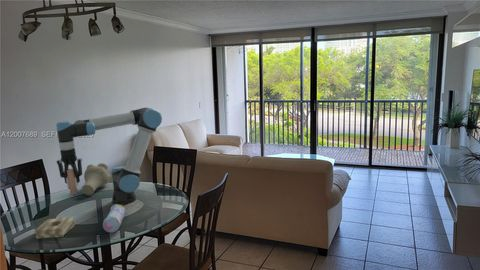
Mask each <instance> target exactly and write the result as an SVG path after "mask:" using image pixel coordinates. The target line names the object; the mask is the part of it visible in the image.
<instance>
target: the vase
mask: <svg viewBox="0 0 480 270" xmlns="http://www.w3.org/2000/svg"><path fill="white" fill-rule="evenodd" d="M108 170H109V166H108V165H107V164H105V163H98V164H97V165H94V164H88V165H87V166H86V169H85V171H84V174H83V178H84V181H85V182H84V185H82V187H81V192H82V193H83V194H84V195H85V196H92V195H94V193H95V191H96V190H97V189H98V188H102V187H104V186H106V185H107V184H108V183H109V182H110V181H111V179H112V174H110V173H108Z"/></svg>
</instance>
